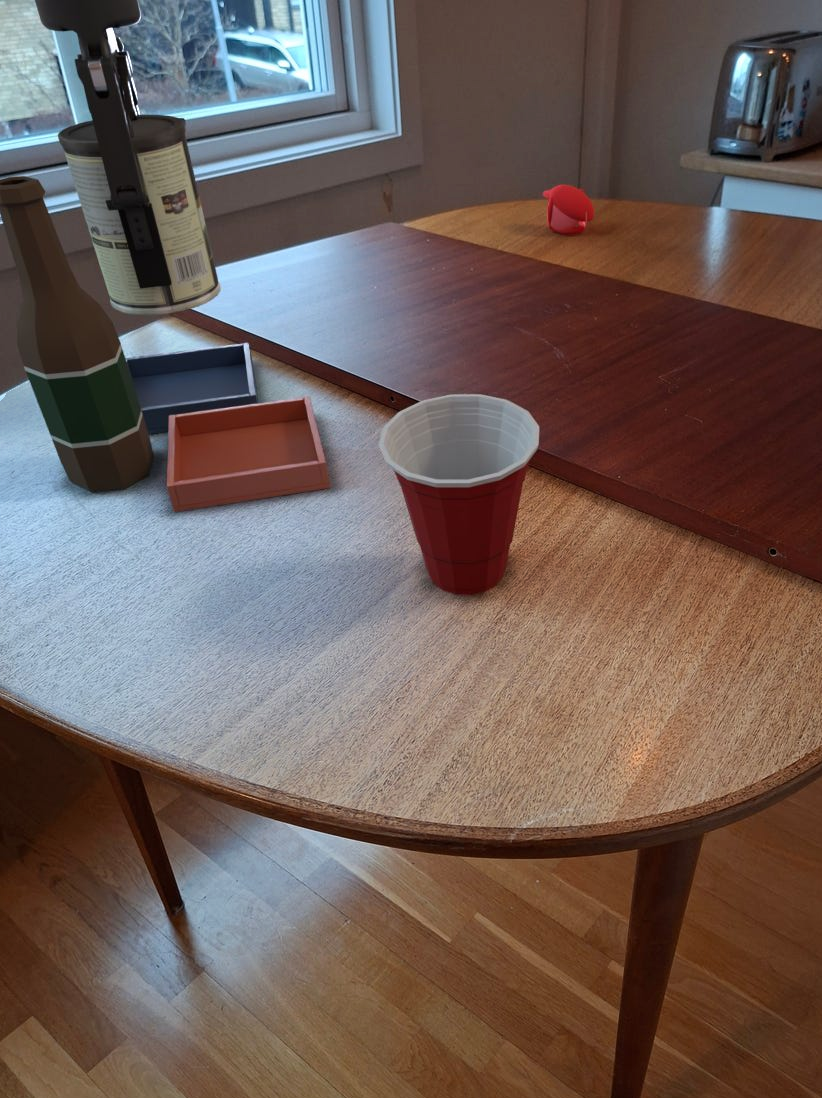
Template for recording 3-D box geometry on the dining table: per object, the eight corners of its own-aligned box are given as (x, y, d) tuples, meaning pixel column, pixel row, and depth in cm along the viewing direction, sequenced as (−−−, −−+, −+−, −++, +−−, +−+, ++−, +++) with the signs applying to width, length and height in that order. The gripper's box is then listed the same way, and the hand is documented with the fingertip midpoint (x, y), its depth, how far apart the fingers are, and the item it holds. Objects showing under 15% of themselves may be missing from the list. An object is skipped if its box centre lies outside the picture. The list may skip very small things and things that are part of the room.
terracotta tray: (174, 512, 74) (166, 486, 72) (175, 439, 83) (168, 415, 82) (330, 488, 76) (326, 462, 74) (313, 419, 86) (309, 396, 84)
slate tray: (121, 438, 84) (114, 414, 82) (128, 380, 94) (121, 358, 92) (260, 418, 86) (255, 395, 84) (253, 364, 96) (248, 342, 94)
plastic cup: (373, 607, 63) (352, 461, 55) (420, 525, 71) (408, 387, 63) (519, 630, 61) (519, 481, 53) (551, 543, 69) (555, 401, 61)
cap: (599, 227, 129) (602, 182, 125) (586, 239, 125) (588, 193, 121) (548, 221, 132) (549, 178, 128) (534, 233, 127) (534, 188, 123)
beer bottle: (173, 454, 81) (90, 168, 65) (130, 498, 76) (27, 197, 60) (98, 447, 83) (0, 165, 67) (50, 489, 77) (-70, 193, 61)
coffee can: (140, 275, 87) (95, 113, 78) (237, 278, 86) (203, 113, 77) (88, 314, 80) (32, 140, 71) (194, 318, 78) (150, 141, 69)
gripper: (120, -29, 59) (200, 304, 73) (134, -48, 75) (197, 226, 90) (2, -22, 57) (107, 315, 72) (42, -43, 74) (121, 234, 89)
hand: (157, 266), depth 81 cm, fingers closed on coffee can, 10 cm apart
